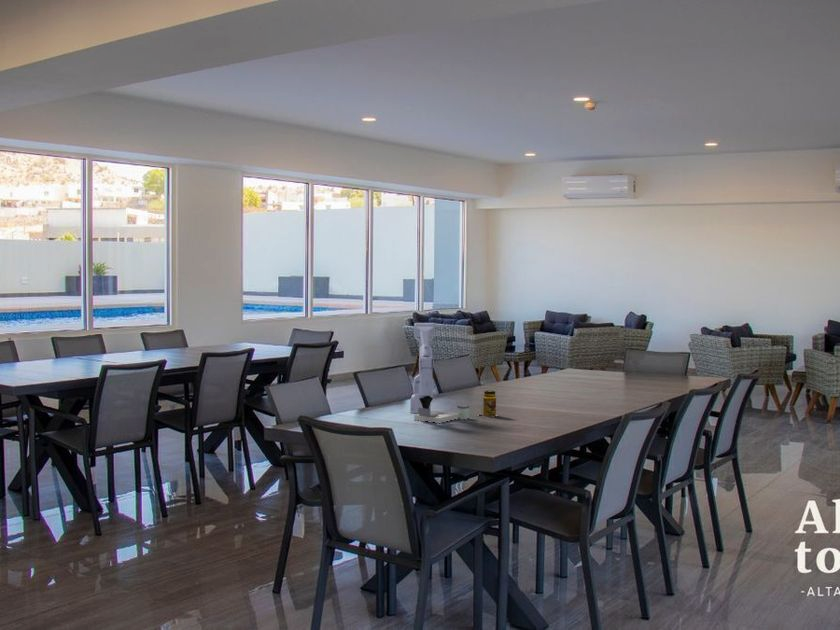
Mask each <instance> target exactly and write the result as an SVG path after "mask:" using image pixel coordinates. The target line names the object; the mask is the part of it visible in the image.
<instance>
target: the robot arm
mask: <svg viewBox="0 0 840 630" xmlns="http://www.w3.org/2000/svg"><path fill="white" fill-rule="evenodd" d="M413 325H414V327H413V336H414V340H416V341H418V343H419V347H418V348H419V350H418V351H419V354H418V355H419V356H418V357H419V358H418V369H419V371H418V374H417V375H416V376H415V377H414V378H413V381H412V383H413V384H412V385H413V386H412V393H413V394H412V395H411V397H410V408H409V409H410V411H409V413H410V414H415V415H416V414H418V408H425V409H430V411H432V407H431V405H432V402H433V397H432V396H435V397H436V396H437V395H438V394H437V393H438V392H437V390H435V389H434V388H435V385H434V384H435V383H434V378H433V370H434V364H435V363H434V362H435V361H434V360H435V359H434V356H433V348H432V346H431V345H430V341H431V340H434V338H435V334H436V333H435V332H436V324H435V323H434V322H432V323H431V322H415V323H414V324H413Z"/></svg>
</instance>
